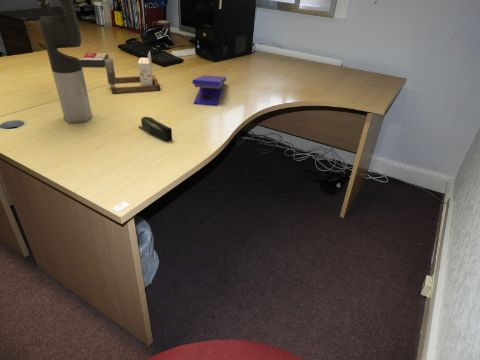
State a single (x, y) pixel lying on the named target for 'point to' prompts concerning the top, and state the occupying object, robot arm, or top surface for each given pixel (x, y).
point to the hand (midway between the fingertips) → (47, 14)
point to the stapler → (209, 89)
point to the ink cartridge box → (145, 71)
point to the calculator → (94, 60)
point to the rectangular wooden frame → (126, 80)
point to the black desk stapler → (156, 128)
